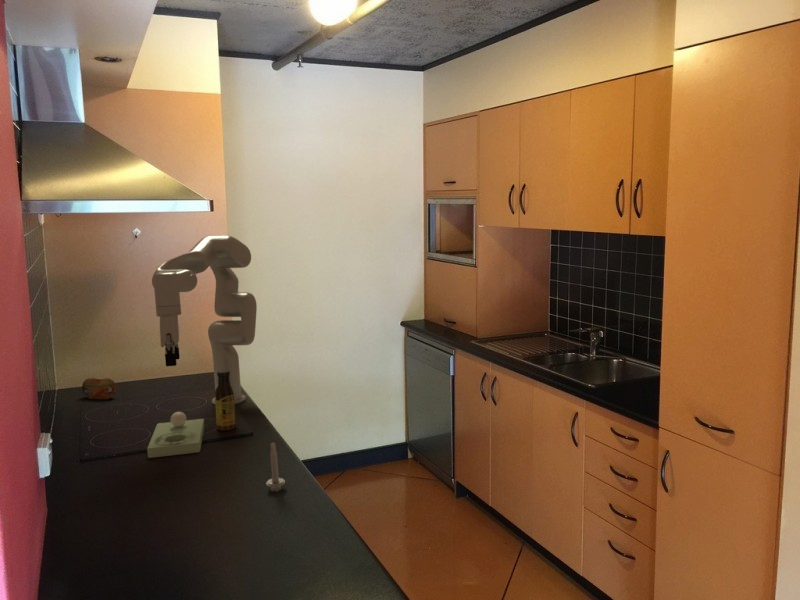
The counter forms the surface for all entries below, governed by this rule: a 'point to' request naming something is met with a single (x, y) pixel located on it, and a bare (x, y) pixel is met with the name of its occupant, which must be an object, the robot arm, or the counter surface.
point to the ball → (178, 419)
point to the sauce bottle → (224, 402)
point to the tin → (99, 388)
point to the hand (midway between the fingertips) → (172, 362)
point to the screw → (274, 471)
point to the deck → (176, 439)
